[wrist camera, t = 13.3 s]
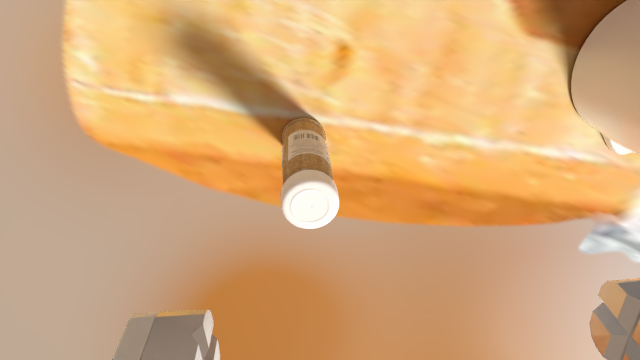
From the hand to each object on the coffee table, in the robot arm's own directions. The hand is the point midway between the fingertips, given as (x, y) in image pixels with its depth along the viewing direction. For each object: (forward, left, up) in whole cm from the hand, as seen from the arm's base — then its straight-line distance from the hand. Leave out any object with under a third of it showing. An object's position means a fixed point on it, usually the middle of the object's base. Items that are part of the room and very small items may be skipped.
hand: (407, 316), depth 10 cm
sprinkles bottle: (+2, +12, -37) cm, 38 cm away
